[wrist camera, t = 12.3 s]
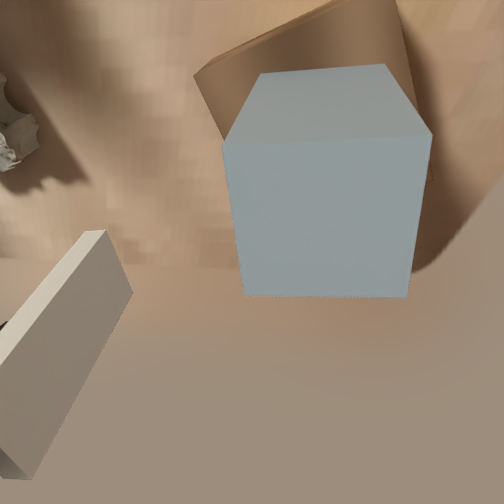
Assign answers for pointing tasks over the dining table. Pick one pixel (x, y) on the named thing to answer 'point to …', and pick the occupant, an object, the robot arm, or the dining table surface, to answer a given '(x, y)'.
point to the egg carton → (15, 132)
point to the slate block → (327, 183)
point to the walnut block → (309, 54)
